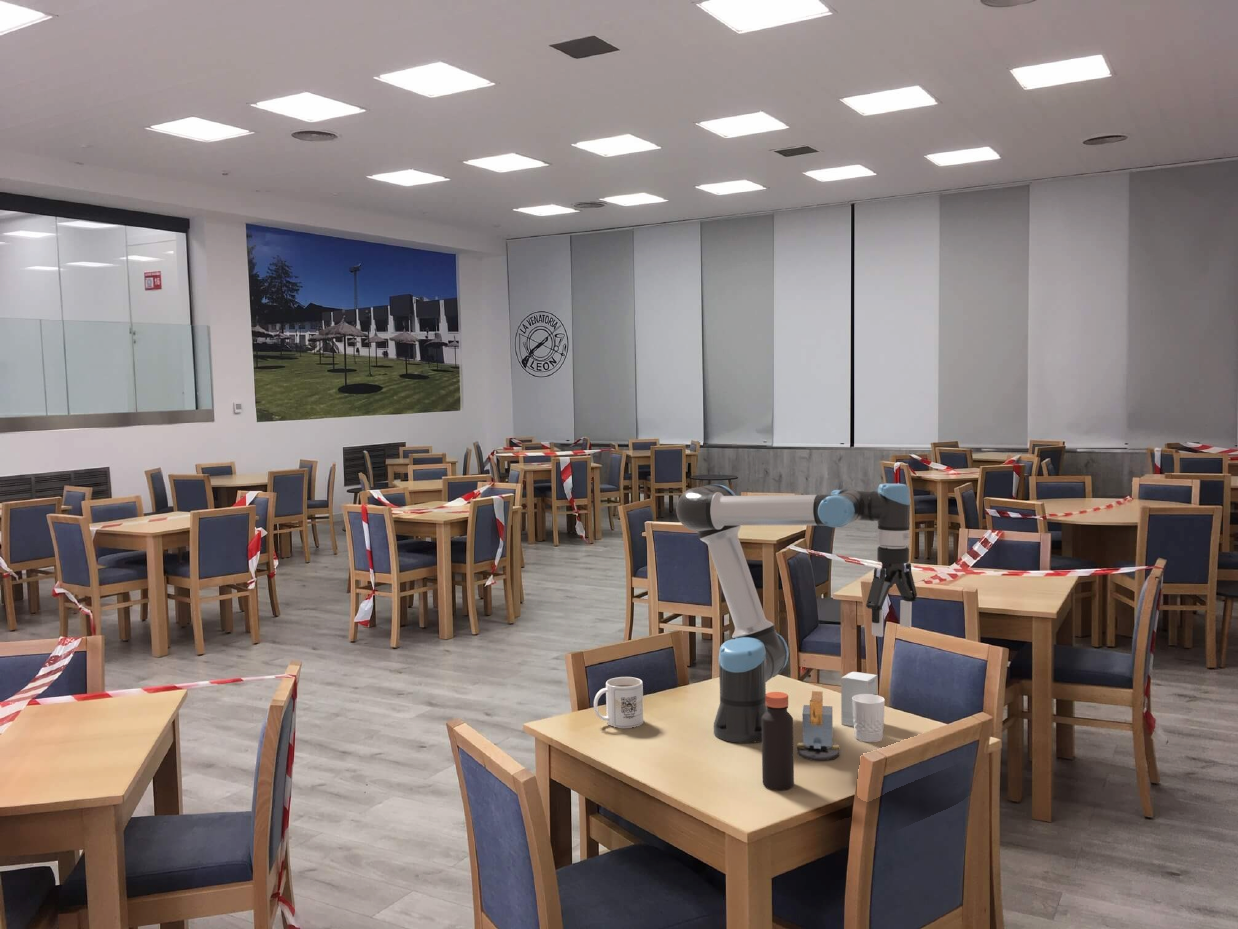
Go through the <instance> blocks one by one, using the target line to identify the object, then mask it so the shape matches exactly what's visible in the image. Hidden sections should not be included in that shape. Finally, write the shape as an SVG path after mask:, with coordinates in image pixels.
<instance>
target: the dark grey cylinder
mask: <svg viewBox="0 0 1238 929" xmlns="http://www.w3.org/2000/svg"><path fill="white" fill-rule="evenodd" d="M840 749H841V748H840V745H839V744H837V743H834V742H833V744H832V747H829V746H821V749H818V748H814V746H812V745H803V741H800V742H797V744H796V754H797V755H798V757H800V758H803V759H804V760H810V761H815V762H816V761H819V762H826V761H827V762H828V761H834V760H835V759H838V758H839V757H840V752H841V750H840Z"/></svg>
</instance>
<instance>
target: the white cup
mask: <svg viewBox="0 0 1238 929" xmlns="http://www.w3.org/2000/svg"><path fill="white" fill-rule="evenodd" d="M885 700H886V699H885V697H883V696H881V695H873V694H858V695H855V696H853V697H852V707H853V722H854V728H853V729H854V738H855V739H856V740H858V741H860V742H864V743H877V742H880V741H882V740H883V737H884V727H885V726H884V724H885V705H886V704H885V703H886V701H885Z"/></svg>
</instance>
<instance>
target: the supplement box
mask: <svg viewBox="0 0 1238 929" xmlns="http://www.w3.org/2000/svg"><path fill="white" fill-rule="evenodd" d="M840 680H841V681H840V685H841V688H840V689H841V690H840V694H841V696H840V699H841V700H840V704H841V707H840V708H841V710H840V711H841V712H840V716H841V717H840V718H841V722H840V723H841V725H844V726H847V727H854V722H853V707H852V697H853V696H855V695H858V694H873V695H878V674H873V673H867V672H865V673H864V672H859V671H851V672H848V673H847V674H846V675H843V676H842V677H841V678H840ZM878 696H879V695H878Z"/></svg>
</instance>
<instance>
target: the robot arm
mask: <svg viewBox="0 0 1238 929" xmlns="http://www.w3.org/2000/svg"><path fill="white" fill-rule="evenodd" d="M910 494H911V493H910V487H909V486H908V485H907V484H904V483H886V482H885V483H880V484H879V485H878V488H877V490H875V491H870V490H869V491H868V490H855V489H853V490H852V489H847V488H846V489H834V490H832V491H831V492H830V494H784V495H783V494H782V495H781V494H780V495H777V494H776V495H774V494H773V495H769V494H768V495H767V494H766V495H736V494H735V492H734V491H733V490H732V489H731V488H729V487H728V486H725V485H722V484H716V483H715V484H714V483H713V484H711V483H710V484H707V485H703V486H698V487H692V488H690V489H687V490H685V491H684V492H683V493H681V495H680V496H679V498H678V500H677V503H676V508H675V511H676V516H677V519H678V521H679V522H680V524H681V525H682V526H684V527H685V528H686V529H688V530H690V531H692V532H697V535H698V537H699V540H700V541H702V542H704V543H705V544H706V545H707V546H708V550H709V553H710V556H711V559H712V562H713V565H714V568H715V571H716V573H717V577H718V581H719V584H720V586H721V589H722V592H723V596H724V599H725V601H726V604H727V607H728V610H729V614H730V616H731V620H732V622H733V625H734V630H733V631H734V632H733V633H732V635H731V637H732V638H731V639H728V640H726V641H724V642H723V643H722V644H721V645H720V647H719V652H718V653H719V654H718V668H719V669H718V670H719V671H718V672H719V673H718V674H719V676H718V677H719V704H718V708H717V711H716V715H715V719H714V722H713V735H714V736H715V737H717V738H718V739H720V740H722V741H727V742H731V743H741V744H750V743H751V744H753V743H754V744H755V743H759V742H762V716H763V714H764V713H765V712H766V711H767V707H766V694H767V692H766V690H767V689H766V684H767V682H768V681H769V680H771V679H772V678H775V677H777V676H778V675H779V674H780V673H781V672H782V671H783V669H784V668H786V665H787V663H788V662H789V661H788V659H789V654H790V653H789V646H788V645H787V642H786V640H785V639H784V637H783V636H782V635H780V634H778V632H777V630H776V628H775V625H774V623H773V622H771V621H770V620H768V619H766V616H765V613H764V609H763V607H762V604H761V601H760V598H759V594H758V590H757V589H756V586H755V583H754V579H753V577H752V574H751V571H750V567H749V565H748V563H747V559H746V556H745V553H744V550H743V547H742V544H741V541H740V539H739V535H738V534H739V531H740V529H741V526H822V527H823V526H826V527H830V528H842V527H845V526H846V525H848V524H850V523H853V522H857V521H859V522H860V521H862V522H863V521H864V522H877V541H876V542H877V544H878V546H877V552H876V553H877V557H876V559H877V561H878V563H881V568H880V567H879V568H878V567H874V569H873V576H872V577H873V578H872V582H871V586H870V589H869V593H868V597H867V601H866V605H865V607H866V608H867V609H870V610H871V636H874V637H880V638H882V637H884V613H885V612H884V609H883V606H884V604H885V601H886V599H887V597H888V593H889V591H890V589H891V588H893V586H894V585H896V588H897V590H898V592H899V594H900V596H901V598H902V600H899V601H900V604H899V605H900V606H899V608H900V610H899V611H900V612H899V626H900V627H904V628H909V629H910V628H912V609H913V606H912V604H913V603H912V602H916V601H917V598H918V597H917V596H918V593H917V589H916V585H915V580H914V576H913V573H912V564H911V563H910V562H909V560H910V548H909V547H908V546H909V545H910V538H911V534H910V519H911V518H910V517H911V516H910V515H911V497H910V496H911V495H910Z"/></svg>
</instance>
